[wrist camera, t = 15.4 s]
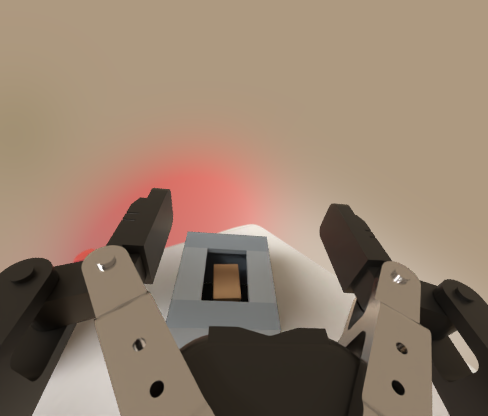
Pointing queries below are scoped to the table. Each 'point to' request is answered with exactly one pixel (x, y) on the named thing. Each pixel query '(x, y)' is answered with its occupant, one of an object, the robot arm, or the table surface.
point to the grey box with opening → (201, 271)
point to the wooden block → (226, 283)
